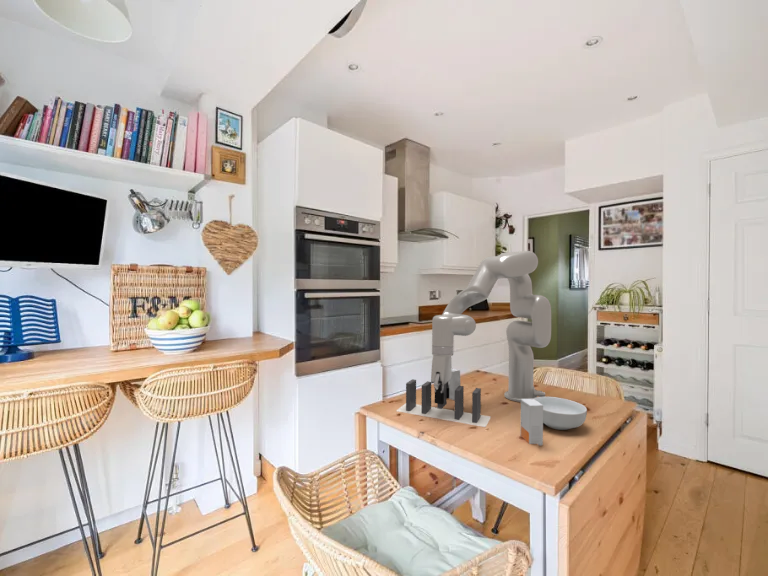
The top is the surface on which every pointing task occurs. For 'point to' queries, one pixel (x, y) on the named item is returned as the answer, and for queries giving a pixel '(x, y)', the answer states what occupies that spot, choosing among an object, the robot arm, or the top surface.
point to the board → (446, 415)
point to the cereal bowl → (562, 413)
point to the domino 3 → (440, 406)
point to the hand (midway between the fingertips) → (442, 400)
